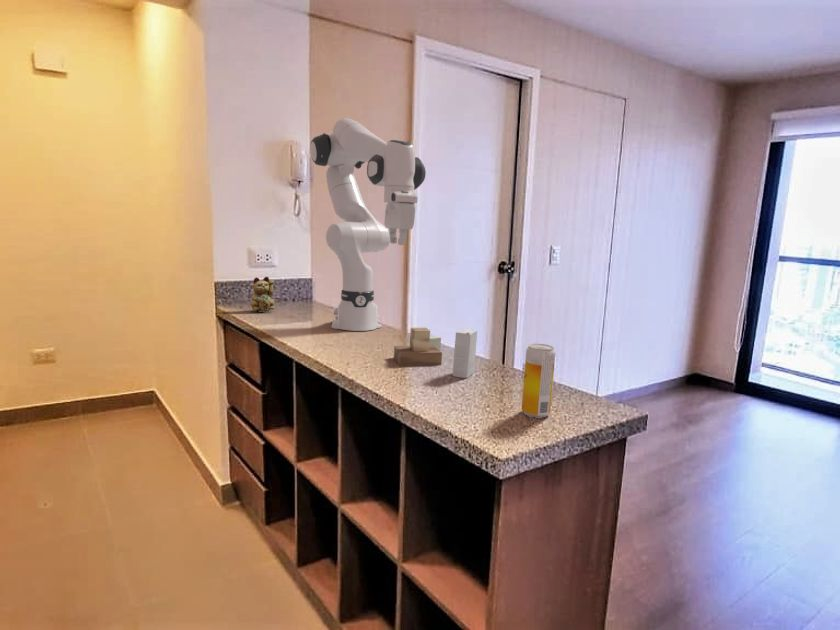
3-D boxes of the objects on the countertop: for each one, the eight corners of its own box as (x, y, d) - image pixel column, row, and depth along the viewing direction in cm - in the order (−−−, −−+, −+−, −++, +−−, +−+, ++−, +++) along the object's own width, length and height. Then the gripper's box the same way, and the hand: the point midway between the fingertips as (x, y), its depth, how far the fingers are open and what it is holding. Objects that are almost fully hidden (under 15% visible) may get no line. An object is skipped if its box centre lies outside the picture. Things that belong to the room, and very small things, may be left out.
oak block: (409, 347, 157) (410, 327, 156) (424, 347, 158) (425, 327, 157) (413, 351, 153) (415, 330, 152) (428, 351, 154) (430, 330, 153)
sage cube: (418, 351, 169) (418, 335, 168) (431, 349, 171) (431, 334, 170) (427, 355, 165) (427, 339, 164) (440, 353, 167) (441, 337, 166)
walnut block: (393, 359, 159) (394, 346, 158) (432, 358, 162) (433, 345, 162) (400, 367, 151) (400, 353, 150) (441, 366, 154) (441, 352, 153)
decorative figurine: (255, 314, 220) (254, 277, 217) (246, 311, 226) (246, 275, 223) (277, 312, 226) (277, 276, 224) (268, 309, 232) (268, 274, 230)
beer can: (537, 407, 120) (542, 342, 118) (555, 416, 115) (562, 348, 112) (515, 411, 117) (520, 344, 115) (533, 420, 112) (539, 350, 110)
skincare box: (459, 371, 148) (462, 328, 146) (475, 373, 146) (477, 329, 144) (451, 376, 142) (454, 331, 140) (467, 379, 140) (470, 333, 138)
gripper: (380, 197, 167) (379, 242, 170) (397, 195, 148) (396, 245, 150) (399, 198, 169) (398, 242, 171) (419, 196, 150) (417, 246, 152)
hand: (397, 244), depth 161 cm, fingers open, 8 cm apart
